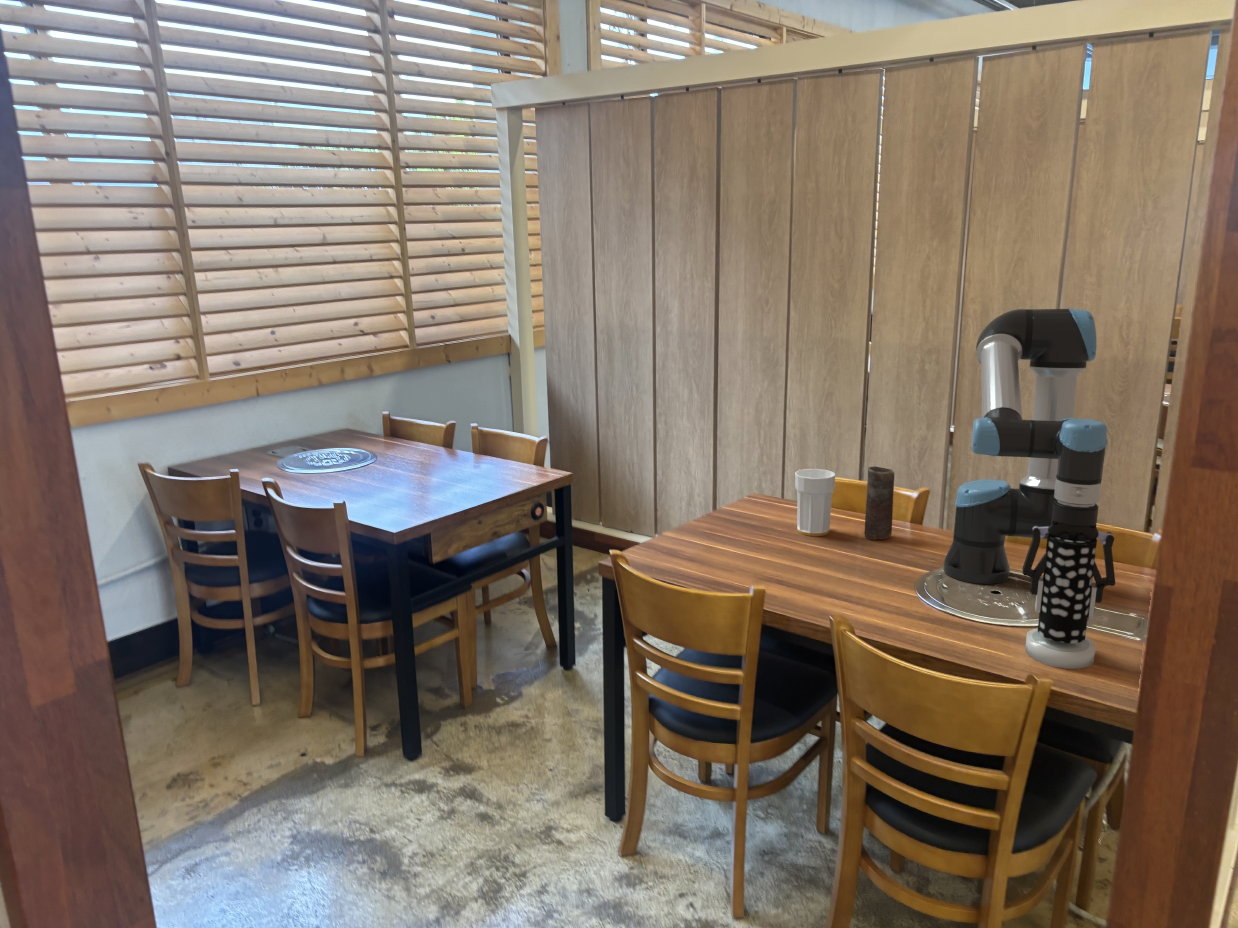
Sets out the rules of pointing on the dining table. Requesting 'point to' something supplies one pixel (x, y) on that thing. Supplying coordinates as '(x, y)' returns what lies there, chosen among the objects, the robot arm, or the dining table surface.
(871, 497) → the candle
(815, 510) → the cup
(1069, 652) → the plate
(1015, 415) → the robot arm
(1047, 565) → the spotted tube
